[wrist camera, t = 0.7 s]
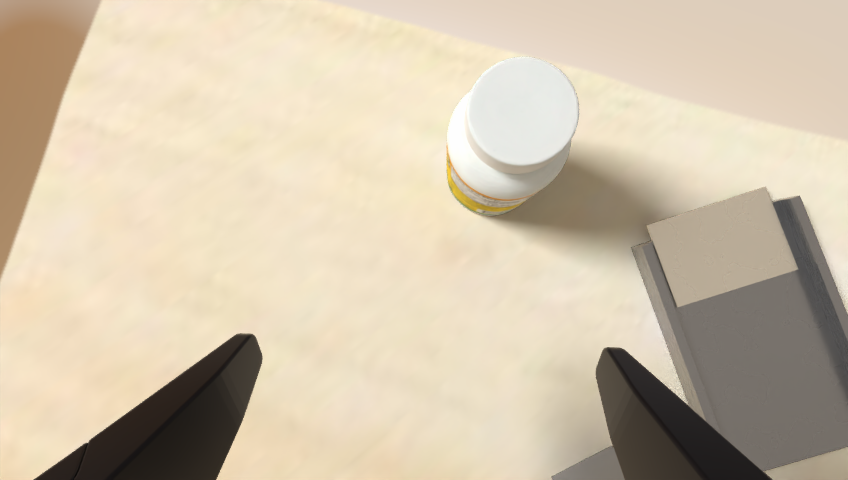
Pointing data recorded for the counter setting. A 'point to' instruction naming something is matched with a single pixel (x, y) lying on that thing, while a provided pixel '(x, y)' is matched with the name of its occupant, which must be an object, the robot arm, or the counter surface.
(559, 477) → the block
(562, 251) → the counter surface
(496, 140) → the supplement bottle
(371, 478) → the counter surface
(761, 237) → the grey flat tray
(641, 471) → the robot arm
